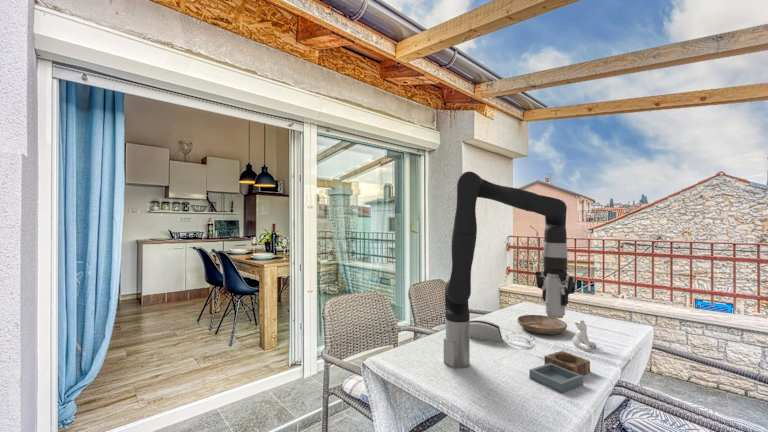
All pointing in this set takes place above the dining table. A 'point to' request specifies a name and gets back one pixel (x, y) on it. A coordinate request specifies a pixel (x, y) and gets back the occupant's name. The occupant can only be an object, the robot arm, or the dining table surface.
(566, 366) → the bore block
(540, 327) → the ceramic bowl
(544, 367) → the tray
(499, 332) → the grey rounded slab
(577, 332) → the sitting furry creature
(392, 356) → the dining table surface
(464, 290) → the robot arm
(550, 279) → the energy drink can
